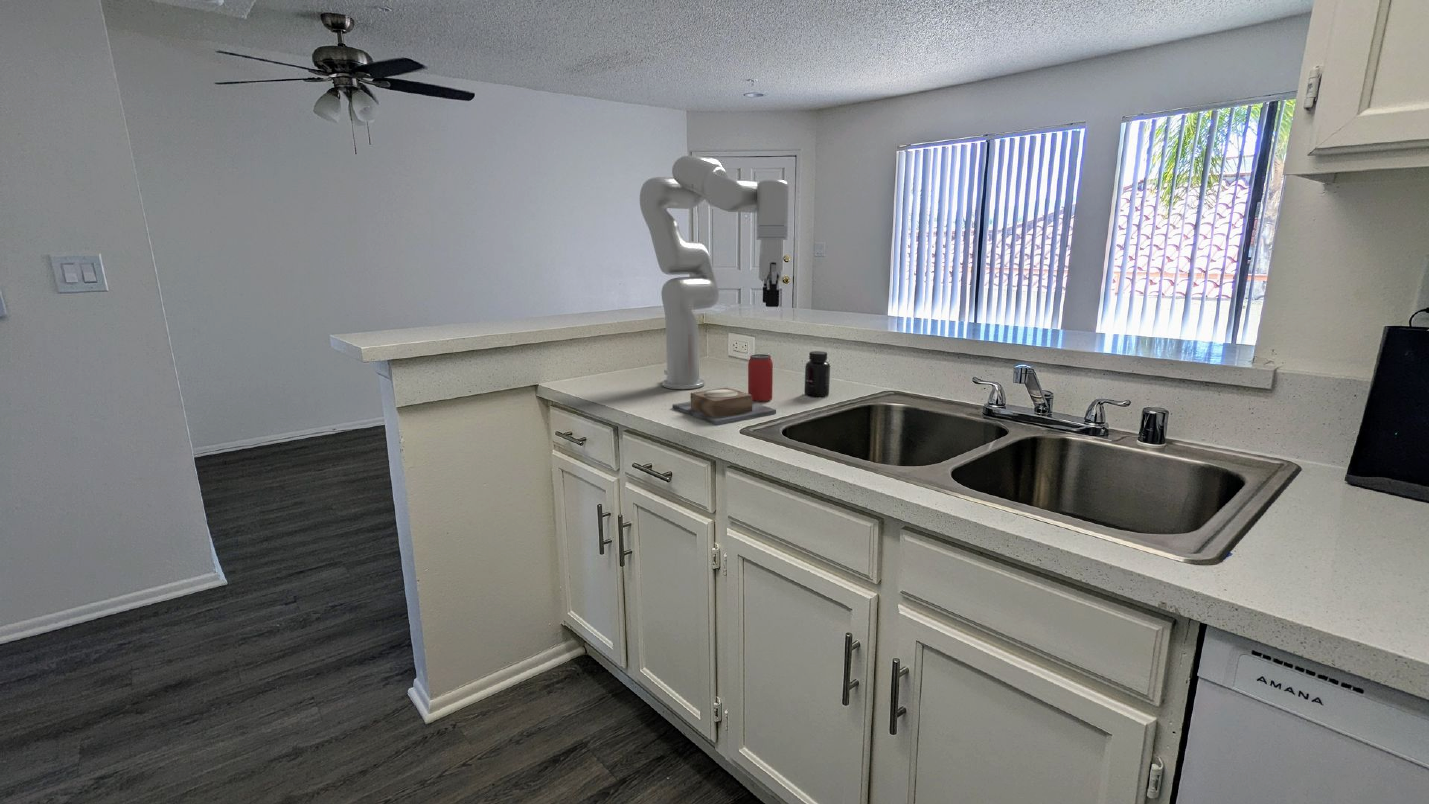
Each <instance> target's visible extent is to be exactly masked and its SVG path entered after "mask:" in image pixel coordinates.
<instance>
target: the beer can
mask: <svg viewBox="0 0 1429 804" xmlns="http://www.w3.org/2000/svg"><path fill="white" fill-rule="evenodd" d="M749 357H750V358H749V361H748V362H747V388H748V389H747V394H750V395H752V402H753V403H767V402H770V401H771V400H773V387H774V386H773V385H774V384H773V383H774V381H773V378H774V377H773V375H774V374H773V370H774V369H773V367H774V365H773V360H772V356H771V355H770V354H766V353H765V354H763V353H761V354H760V353H759V354H758V353H757V354H751V355H749Z"/></svg>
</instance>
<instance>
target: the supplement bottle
mask: <svg viewBox="0 0 1429 804" xmlns="http://www.w3.org/2000/svg"><path fill="white" fill-rule="evenodd" d="M808 359H809V361H807V362H806V363H805V364H804V365H805V366H804V369H805V370H804V387H803V388H804V389H803V390H804V395H805V396H807V397H809V398H817V399H818V398H819V397H821V398H826V397H825V396H827V397H829V395H830V384H831V383H830V381H831V365H830V362H828V361H827V360H828V352H826V351H819V350H815V351H813V350H812V351H810V352H809V356H808ZM819 399H820V398H819Z"/></svg>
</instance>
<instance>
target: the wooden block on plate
mask: <svg viewBox="0 0 1429 804" xmlns="http://www.w3.org/2000/svg"><path fill="white" fill-rule="evenodd" d="M671 406H672V408H671V409H673V410H676V411H679V412H681V413H683V414H686V415H689V416H692V417H695V418H696V419H700V420H703V421H704V422H708V423H710V424H713V425H715V426H720V425H725V424H729V423H735V422H740V421H745V420H750V419H755V418H760V417H766V416H771V415H776V414H777V409H775V408H772V407H768V406H765V405H762V404H759V403H757V402H754V401H752V395H750V394H748V392H747V393H746V392H744V391H740V390H736V389H733V388H730V387H727V386H726V387H720V388H715V389H714V388H713V389H709V390H708V389H707V390H702V391H695V392H690V401H686V402H679V403H673V404H672V405H671Z"/></svg>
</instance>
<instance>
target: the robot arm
mask: <svg viewBox="0 0 1429 804" xmlns="http://www.w3.org/2000/svg"><path fill="white" fill-rule="evenodd" d="M671 171H672V172H671V175H672V177H670V176H668V177H667V176H657V177H651V178H648V179H647V180H645V181H644V183H643V184H642V186H641V188H640V193H639V206H640V210H641V213H642V217H643V220H644V221H645V224H646V226H647V228H648V230H649V233H650V237H651V241H652V245H653V248H654V252H655V257H656V260H657V265H658V267H659V269H660V271H661V272H662V273H663V274H665V275H669V276H678V275H679V276H680V275H681V276H682V275H683V277H673V278H671V279H670V278H669V280H668V279H667V281H666V282H665V283H664V284H663V285H662V288H661V293H660V294H661V300H662V306H663V311H664V318H665V339H666V340H665V341H666V342H665V343H666V345H665V346H666V369H665V370H664V372H663V374H664V375H666V379H664V380H662V382H661V385H662V387H664V388H667V389H672V390H692V389H698V388H701V387H703V386H705V380H704V379H702V378H700V349H699V347H700V346H699V345H700V344H699V343H700V340H699V339H700V337H699V336H700V335H699V323H698V321H697V318H696V317H695V315H694V312H693V311H696V310H705V309H710V308H713V307H714V306H715V305H716V304H717V302H718V301H719V295H720V294H719V293H720V291H719V285H718V281H717V277H716V275H715V270H714V266H713V263H712V259H711V255H710V252H709V251H708V249H707V247H706V246H705V245H704V244H703V243H701V242H699V241H693V240H692V241H689V240H688V241H685V240H684V239H683V237H682V234H681V231H680V226H679V224H678V223H677V220H675V218H674V217H673V215H672V214H671V213H670V212H668V210H667V209H679V210H680V209H681V210H684V209H685V210H689V209H693V208H695V207H698V205H700V204H701V203H703V201H706V203H708V204H709V205H711V206H713V207H715V208H716V209H720V210H721V211H724V212H729V213H748V214H751V213H752V214H754V213H755V214H756V234H755V235H756V240H757V241H760V243H759V256H758V257H759V263H758V265H759V266H758V279H759V280H760V281H761V282H763V286H762V303H764V304H765V307H767V308H779V306H780V285H779V283H780V281H781V280H782V272H783V271H782V269H783V241H784V240H785V241H787V240H788V233H789V232H788V229H789V228H788V227H789V226H788V224H789V223H788V222H789V221H788V219H789V195H790V193H789V184H788V182H787V181H786V180H783V179H765V180H760V181H755V180H754V181H753V180H747V179H746V180H745V179H744V180H743V179H742V180H741V179H732V178H729V176H728V173H727V171H726V169H725V168H724V167H723V166H722V164H721V162H720V161H719V160H718V159H716V158H714V157H710V156H700V155H683V156H681V157H680V156H679V158H678V159H676V160H675V161H674V163H673V165H672V169H671ZM684 275H689V276H685V277H684Z"/></svg>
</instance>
